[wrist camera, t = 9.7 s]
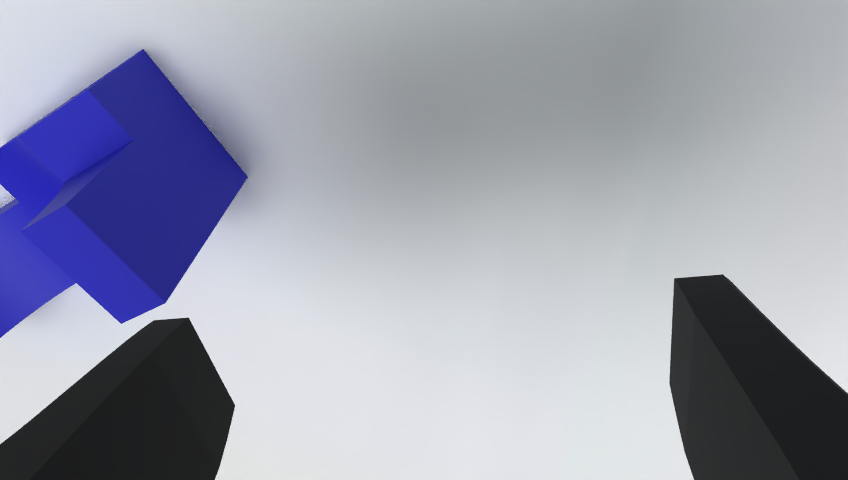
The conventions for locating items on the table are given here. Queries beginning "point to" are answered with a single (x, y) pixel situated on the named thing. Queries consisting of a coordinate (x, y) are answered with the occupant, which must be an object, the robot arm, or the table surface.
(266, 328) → the table surface
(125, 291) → the cable clip
